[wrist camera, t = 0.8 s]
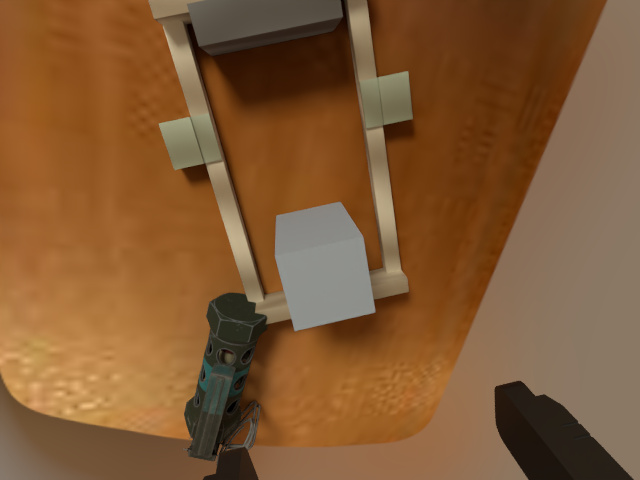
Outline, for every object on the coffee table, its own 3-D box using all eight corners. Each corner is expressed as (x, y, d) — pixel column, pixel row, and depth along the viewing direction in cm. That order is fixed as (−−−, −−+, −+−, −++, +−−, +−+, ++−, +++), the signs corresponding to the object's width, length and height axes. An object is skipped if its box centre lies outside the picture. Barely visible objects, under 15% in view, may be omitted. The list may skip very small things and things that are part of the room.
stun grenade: (218, 284, 29) (187, 416, 34) (194, 327, 23) (160, 480, 28) (292, 303, 30) (253, 430, 34) (287, 349, 24) (240, 496, 28)
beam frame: (128, 12, 22) (97, -7, 18) (389, -40, 22) (411, -70, 19) (230, 315, 30) (223, 345, 26) (422, 272, 30) (442, 295, 27)
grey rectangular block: (276, 215, 27) (274, 256, 20) (340, 201, 27) (363, 236, 20) (290, 273, 29) (294, 331, 22) (351, 260, 29) (375, 312, 22)
